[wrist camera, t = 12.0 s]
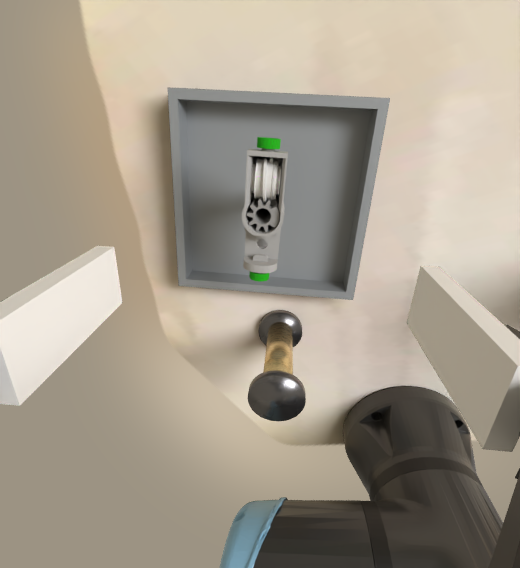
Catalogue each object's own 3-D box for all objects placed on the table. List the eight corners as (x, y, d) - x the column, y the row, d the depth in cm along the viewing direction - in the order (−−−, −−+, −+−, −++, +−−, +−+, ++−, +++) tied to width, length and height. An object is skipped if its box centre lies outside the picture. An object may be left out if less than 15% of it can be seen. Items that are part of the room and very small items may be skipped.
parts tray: (348, 287, 37) (353, 300, 34) (186, 274, 38) (178, 285, 35) (381, 101, 30) (390, 98, 27) (178, 91, 31) (167, 87, 28)
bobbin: (299, 348, 41) (302, 423, 30) (258, 344, 41) (246, 418, 31) (303, 312, 39) (308, 379, 28) (260, 308, 39) (248, 373, 29)
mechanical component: (252, 241, 35) (238, 280, 26) (258, 133, 31) (245, 136, 22) (280, 243, 35) (277, 284, 26) (291, 136, 31) (291, 140, 22)
